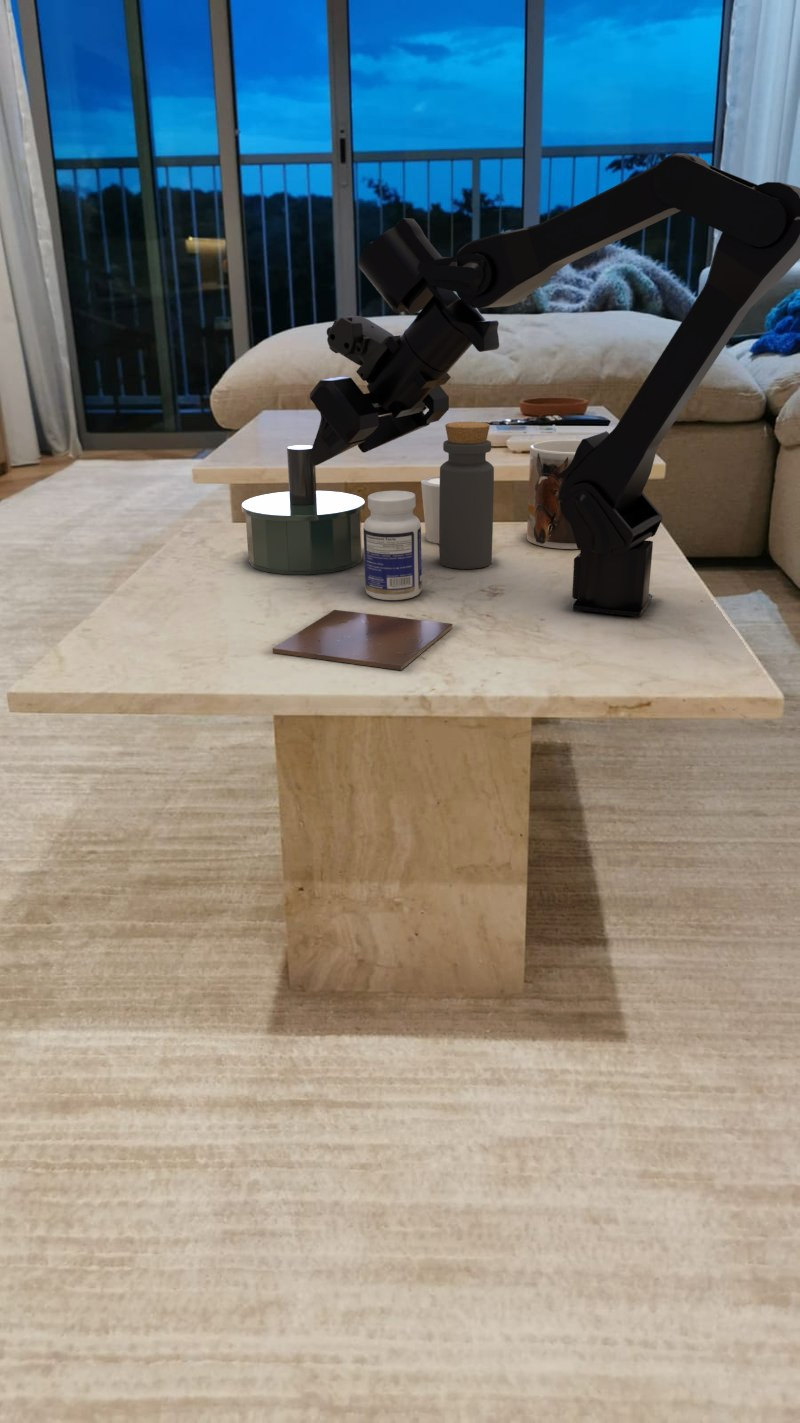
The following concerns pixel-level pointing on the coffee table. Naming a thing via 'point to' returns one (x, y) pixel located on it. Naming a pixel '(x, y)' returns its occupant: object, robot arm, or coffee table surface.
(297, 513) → the tin lid
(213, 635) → the coffee table surface
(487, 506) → the bottle
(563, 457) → the mug
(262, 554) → the tin
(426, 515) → the shot glass
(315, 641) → the glossy brown square tile
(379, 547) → the pill bottle
